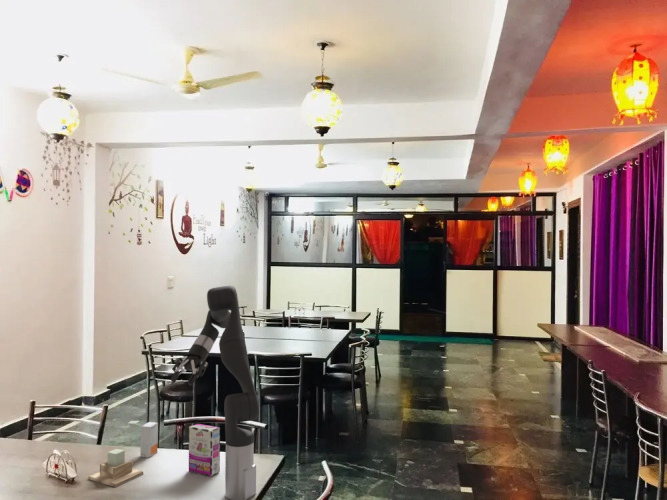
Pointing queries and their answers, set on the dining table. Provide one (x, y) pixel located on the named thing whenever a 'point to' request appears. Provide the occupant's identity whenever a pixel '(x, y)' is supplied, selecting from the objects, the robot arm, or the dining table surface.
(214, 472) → the candy bar box
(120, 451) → the sage peg
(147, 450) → the skincare box
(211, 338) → the robot arm
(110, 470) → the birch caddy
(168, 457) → the dining table surface
